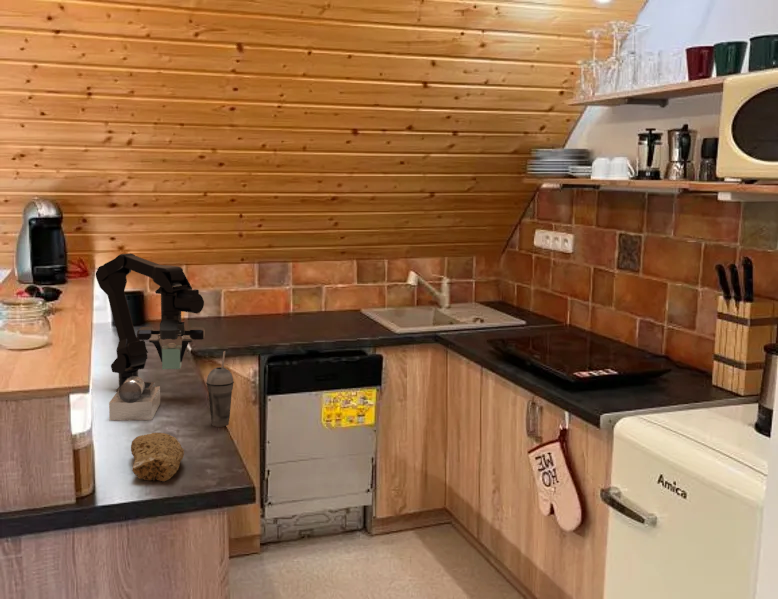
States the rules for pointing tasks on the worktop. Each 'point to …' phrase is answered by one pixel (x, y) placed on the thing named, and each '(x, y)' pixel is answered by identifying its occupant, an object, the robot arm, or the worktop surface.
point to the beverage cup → (220, 394)
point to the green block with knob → (171, 356)
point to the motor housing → (135, 400)
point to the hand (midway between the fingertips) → (171, 362)
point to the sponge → (156, 456)
